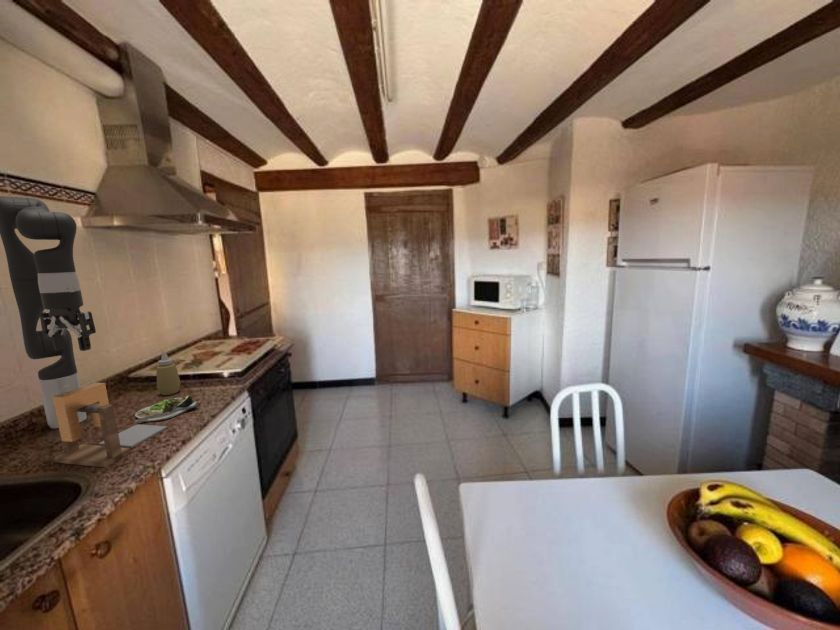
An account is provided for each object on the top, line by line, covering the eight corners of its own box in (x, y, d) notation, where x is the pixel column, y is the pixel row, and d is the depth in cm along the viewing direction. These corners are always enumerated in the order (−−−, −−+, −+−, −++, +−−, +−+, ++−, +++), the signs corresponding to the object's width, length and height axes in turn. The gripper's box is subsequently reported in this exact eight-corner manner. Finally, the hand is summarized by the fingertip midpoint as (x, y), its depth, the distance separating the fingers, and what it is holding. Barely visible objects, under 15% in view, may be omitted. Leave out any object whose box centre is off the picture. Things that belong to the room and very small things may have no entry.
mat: (99, 444, 106) (98, 443, 106) (137, 425, 118) (136, 424, 118) (132, 447, 104) (131, 445, 104) (167, 428, 116) (167, 426, 116)
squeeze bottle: (170, 397, 142) (163, 354, 139) (153, 396, 143) (146, 354, 140) (186, 389, 150) (180, 349, 147) (170, 389, 151) (163, 348, 148)
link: (61, 440, 93) (52, 396, 91) (103, 422, 103) (95, 382, 101) (72, 441, 93) (62, 397, 90) (112, 423, 103) (105, 383, 101)
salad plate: (150, 430, 115) (147, 417, 115) (119, 421, 123) (117, 409, 122) (206, 406, 133) (204, 395, 132) (176, 400, 140) (174, 389, 139)
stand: (55, 462, 97) (43, 408, 95) (83, 448, 104) (72, 398, 102) (105, 467, 94) (94, 412, 92) (130, 453, 101) (121, 401, 98)
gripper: (21, 291, 89) (34, 353, 92) (66, 291, 86) (78, 354, 89) (55, 288, 96) (67, 345, 99) (98, 288, 94) (109, 346, 96)
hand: (72, 349), depth 94 cm, fingers open, 8 cm apart
